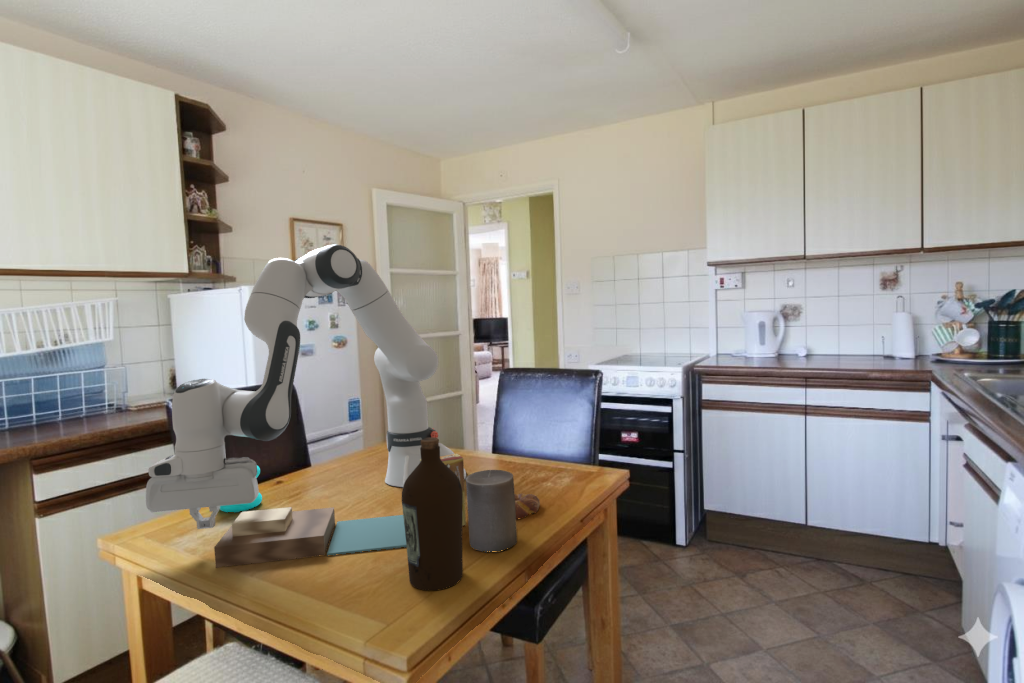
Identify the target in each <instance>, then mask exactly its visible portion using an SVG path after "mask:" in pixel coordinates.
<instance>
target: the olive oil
mask: <svg viewBox="0 0 1024 683" xmlns="http://www.w3.org/2000/svg"><path fill="white" fill-rule="evenodd" d="M439 440H440V439H439V437H438V438H433V437H431V438H424V439H422V440H421V448H420V451H421V462H420V463H419V465H418V466H417V467H416V468H415V469H414V470H413V472H412V473H411V474H410V475H409V476H408V478H407V479H406V481H405V483H404V486H403V487H402V491H401V508H402V515H403V517H404V526H405V536H406V546H407V547H406V555H407V564H408V567H407V568H408V577H409V579H408V580H409V583H410V584H411V585H412V587H414V588H415V587H416V589H418V590H421V589H422V591H428V590H434V591H439V590H438V589H442V590H444V589H443V588H446V587H449V586H451V587H453V586H455V585H457V584H458V583H459V582H460V581H461V580H462V579H463V575H464V573H463V572H464V569H463V567H464V566H463V565H464V564H463V563H464V562H463V526H462V508H463V492H462V486H461V483H460V481H459V479H458V477H457V476H456V474H455V473H454V472H453V471H452V470H451V469H449V468H448V467H447V466H446V465H445V464H444V463H443V462H442V461H441V459H440V446H439V442H440V441H439ZM461 578H462V579H461ZM459 580H460V581H459ZM458 581H459V582H458ZM457 582H458V583H457ZM456 583H457V584H456ZM454 584H455V585H454ZM452 585H453V586H452ZM449 588H450V587H449ZM446 589H447V588H446Z"/></svg>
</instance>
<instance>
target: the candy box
mask: <svg viewBox="0 0 1024 683" xmlns="http://www.w3.org/2000/svg"><path fill="white" fill-rule="evenodd" d="M440 459H441V461H442V462H443V463H444V464H445V465H446V466H447V467H448V468H449V469H451V470H452V471H453V472H454V473H455V474H456V476H457V477H458V479H459V481H460V483H461V486H462V492H463V508H462V527H463V526H464V525H465V526H467V523H466V522H467V521H466V519H467V517H466V492H465V488H466V487H465V479H464V469H465V468H464V457H463V456H462V455H460V454H459V453H454V454H452V455H446V456H440ZM420 462H421V459H420ZM465 526H464V527H465Z"/></svg>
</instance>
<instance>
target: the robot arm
mask: <svg viewBox="0 0 1024 683" xmlns="http://www.w3.org/2000/svg"><path fill="white" fill-rule="evenodd" d="M382 279H383V278H381V277H380V275H379V274H378V272H377V271H376V270H375V268H374V267H373V266H372V265H371V264H370V263H369V262H368V261H366V260H364V259H360V258H358V257H357V255H356V254H355V253H354V252H353V251H352V250H351V249H350V248H348V247H346V245H345V246H344V245H341V244H328V245H325V246H323V247H320V248H316V249H314V250H311V251H308V252H307V254H304V255H302V256H301V257H298V258H296V259H295V260H293V259H290V258H286V257H278V258H277V257H276V258H273V259H270V260H269V261H268V262H267V263H266V264H265V266H264V268H263V269H262V271H261V272H260V274H259V275H258V277H257V280H256V281H255V283H254V285H253V288H252V290H251V292H250V295H249V298H248V300H247V303H246V306H245V310H244V318H243V319H244V324H245V325H246V327H247V328H248V330H249V332H250V333H251V334H252V335H254V336H255V337H256V338H258V339H260V340H261V341H263V342H264V343H265V344H266V346H267V348H268V349H267V350H268V356H267V359H266V360H267V361H266V366H265V371H264V375H263V380H262V384H261V386H260V387H259V388H258V389H257V390H256V391H255V390H254V391H252V390H242V389H237V388H232V387H229V386H226V385H224V384H221V383H220V382H217V381H216V380H215V378H207V377H206V378H199V379H193V380H189V381H187V382H184V383H182V384H180V385H178V386H177V387H176V388H175V390H174V392H173V394H172V401H171V402H172V403H171V404H172V405H171V413H172V414H171V416H172V417H171V418H172V419H171V420H172V430H173V431H174V434H175V444H174V454H172V455H169V456H167V457H165V458H162V459H160V460H158V461H156V462H155V463H153V464H152V465H150V466H149V467H148V475H149V477H150V478H149V479H148V480H147V483H146V486H145V488H146V489H145V506H146V509H147V510H148V511H149V512H151V513H160V512H170V511H171V512H172V511H179V510H188V511H189V515H190V516H191V517H192V518H193V520H194V521H195V522H196V529H197V530H203V529H214V528H215V527H216V517H217V514H218V512H219V511H220V506H224V505H235V504H245V503H252V502H253V501H254V500H255V499H256V498H257V496H258V494H259V493H260V492H259V484H258V479H257V478H256V475H257V466H258V465H257V462H256V461H255V460H254V459H252V458H250V457H248V456H242V457H228V458H227V457H226V442H225V438H226V436H235V437H243V438H244V437H245V438H249V439H255V440H258V441H263V442H269V441H272V440H275V439H277V438H278V437H280V435H282V434H283V433H284V432H285V431H286V429H287V427H288V425H289V423H290V420H291V416H292V393H293V386H294V381H295V377H296V370H297V366H298V360H299V354H300V348H301V347H300V346H301V332H300V330H299V328H298V320H299V313H300V311H301V309H302V308H301V307H302V304H303V301H304V299H316V298H317V297H322V296H323V297H324V296H326V295H330V294H332V293H334V292H337V293H339V294H340V295H341V296H342V297H343V298H344V300H345V302H346V304H347V306H348V307H349V309H350V311H351V313H352V314H353V316H354V317H355V319H356V321H357V322H358V324H359V326H360V327H361V329H362V330H363V332H364V334H365V335H366V337H368V338H369V339H370V340H371V341H372V343H374V345H376V346H377V349H375V352H374V357H373V360H374V365H375V367H376V369H377V371H378V373H379V376H380V382H381V386H382V390H383V393H384V397H385V402H386V403H385V404H386V412H387V413H386V414H387V416H386V417H387V430H386V447H387V452H388V458H387V459H388V461H387V467H386V468H387V469H386V475H385V478H384V482H385V484H387V485H389V486H393V487H398V488H399V487H400V488H403V486H404V483H405V481H406V479H407V478H408V476H409V475H410V474H411V473H412V472H413V470H414V469H415V468H416V467H417V466H418V465H419V463H420V459H421V451H420V448H421V440H422V439H424V438H431V437H433V438H438V439H439V433H438V431H437V430H436V429H435V428H433V427H430V426H429V416H428V415H429V414H428V413H429V412H428V401H427V397H426V396H425V394H424V393H423V390H422V386H421V384H420V382H423V381H426V380H428V379H430V378H432V376H434V374H436V371H437V370H438V366H439V356H438V355H437V352H436V351H435V349H434V348H432V347H431V346H430V345H429V344H428V343H426V341H425V340H424V339H423V338H422V336H420V335H419V333H418V331H416V329H415V328H414V327H413V326H412V325H411V323H410V322H409V321H408V320H407V318H406V317H405V316H404V314H403V313H402V311H401V310H400V308H399V307H398V305H397V302H396V301H395V299H394V298H393V296H392V294H391V293H390V290H389V289H388V287H387V286H386V284H385V282H384V281H383V280H382ZM439 446H440V456H446V455H452V454H455V452H454V451H453V450H452V449H451V448H449V447H447V446H446V445H445V444H443V443H441V442H440V441H439ZM466 472H467V471H466V469H465V468H464V480H465V479H466V477H467V473H466ZM201 508H209V509H208V510H209V512H210V513H211V515H210V517H209V516H206V517H203V515H202V514H201V512H200V510H201Z"/></svg>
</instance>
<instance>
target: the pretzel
mask: <svg viewBox="0 0 1024 683" xmlns="http://www.w3.org/2000/svg"><path fill="white" fill-rule="evenodd" d="M514 494H515V493H514ZM540 505H541V502H540V499H539V497H538V496H537V495H535V494H532V493H528V494H525V493H518V494H515V510H516V520H519V519H518V518H521V519H523V518H522V517H524V518H526V517H527V516H529V515H528V514H531V513H532V514H536V513H537V512H538V511H539V508H540ZM535 512H536V513H535ZM532 514H531V515H532ZM525 516H526V517H525Z"/></svg>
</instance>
